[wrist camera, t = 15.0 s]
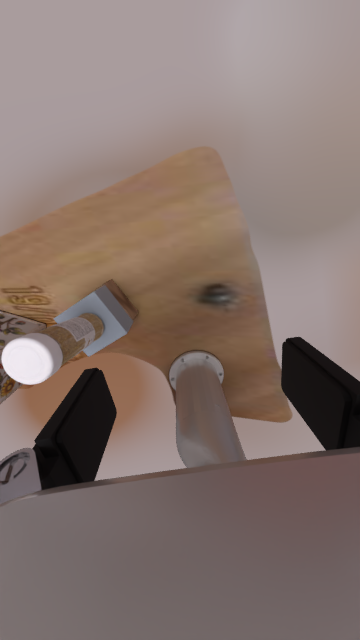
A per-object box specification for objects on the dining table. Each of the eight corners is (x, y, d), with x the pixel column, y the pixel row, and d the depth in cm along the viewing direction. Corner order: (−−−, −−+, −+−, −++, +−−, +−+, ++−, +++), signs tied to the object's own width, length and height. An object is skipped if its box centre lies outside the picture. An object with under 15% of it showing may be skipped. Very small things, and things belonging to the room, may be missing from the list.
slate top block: (133, 321, 36) (127, 333, 32) (99, 342, 38) (88, 356, 33) (105, 284, 34) (93, 291, 29) (69, 308, 35) (53, 318, 30)
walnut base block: (138, 311, 41) (133, 319, 36) (108, 331, 42) (100, 342, 38) (112, 279, 38) (103, 283, 34) (81, 302, 40) (69, 309, 35)
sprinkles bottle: (90, 346, 31) (27, 395, 18) (68, 324, 31) (-13, 360, 17) (111, 328, 31) (62, 365, 18) (90, 305, 30) (22, 327, 17)
